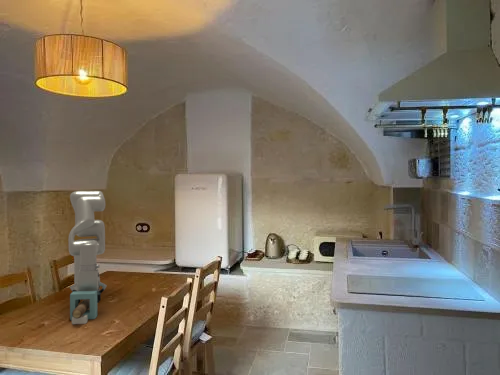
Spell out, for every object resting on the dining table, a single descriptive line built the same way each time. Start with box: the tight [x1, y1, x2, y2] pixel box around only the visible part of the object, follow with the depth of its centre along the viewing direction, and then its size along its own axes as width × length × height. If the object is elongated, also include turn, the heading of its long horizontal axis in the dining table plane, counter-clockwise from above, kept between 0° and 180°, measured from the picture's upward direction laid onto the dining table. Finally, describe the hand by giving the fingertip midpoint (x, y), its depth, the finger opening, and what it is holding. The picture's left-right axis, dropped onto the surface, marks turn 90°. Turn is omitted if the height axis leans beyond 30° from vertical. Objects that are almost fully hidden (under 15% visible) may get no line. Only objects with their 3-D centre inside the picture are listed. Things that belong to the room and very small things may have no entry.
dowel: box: [72, 299, 90, 319], centre depth 188 cm, size 22×4×4 cm, turn 8°
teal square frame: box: [69, 291, 98, 321], centre depth 190 cm, size 5×11×12 cm, turn 98°
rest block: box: [71, 315, 89, 325], centre depth 183 cm, size 3×6×3 cm, turn 97°
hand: (88, 302), depth 197 cm, fingers open, 8 cm apart
